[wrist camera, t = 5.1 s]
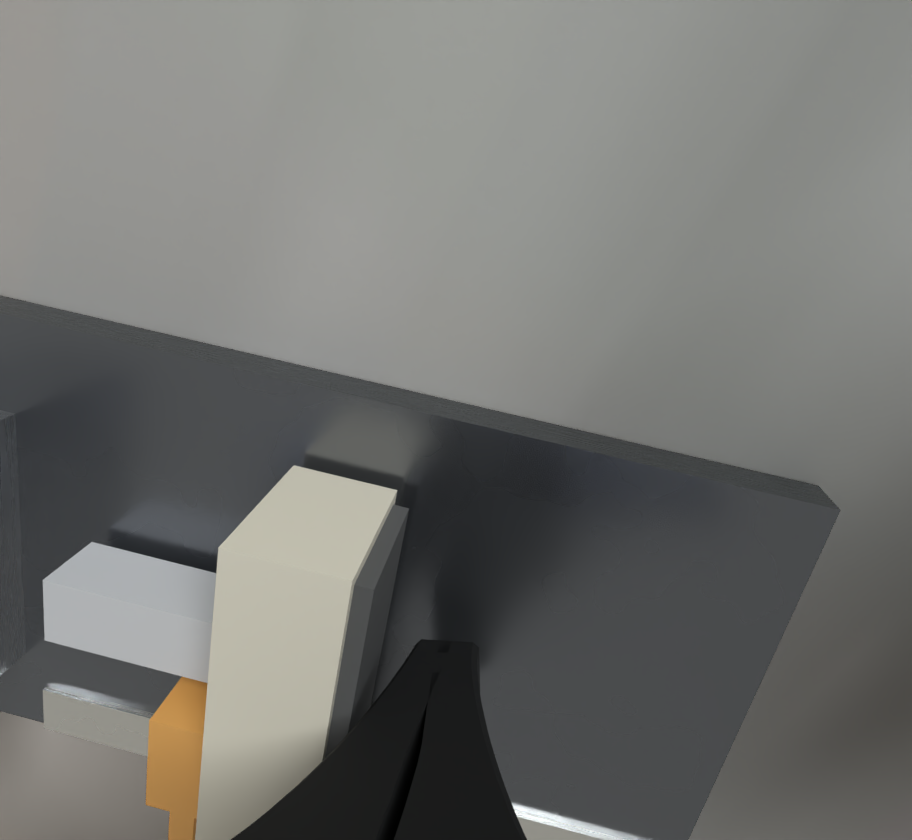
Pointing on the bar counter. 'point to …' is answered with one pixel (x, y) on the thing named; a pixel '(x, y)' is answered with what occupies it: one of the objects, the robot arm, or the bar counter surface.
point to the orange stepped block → (177, 756)
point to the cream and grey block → (253, 632)
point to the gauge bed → (414, 555)
